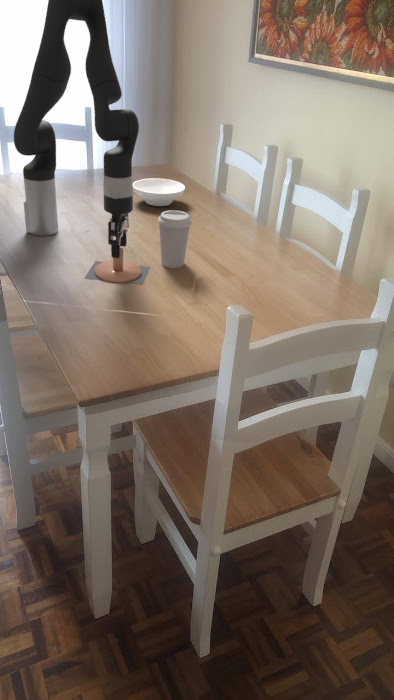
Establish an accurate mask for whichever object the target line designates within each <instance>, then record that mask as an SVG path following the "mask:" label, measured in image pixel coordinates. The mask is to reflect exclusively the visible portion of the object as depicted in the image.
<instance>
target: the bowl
mask: <svg viewBox="0 0 394 700" xmlns="http://www.w3.org/2000/svg"><path fill="white" fill-rule="evenodd" d="M185 189H186V186H185V184H183V183H182V182H179V181H176V180H174V179H168V178H156V177H155V178H154V177H153V178H151V177H150V178H143V179H138V180H136V181H134V182H133V192H135V194H136V195H137V196H139V197H140V198H142V199H143V201H144V202H145V203H146V204H147V205H150V206H154V207H155V206H156V207H166V206H170V205H171V204H172V203H173V201H174V200H176V199H179V198H180V197H182V195H183V194H184V192H185Z"/></svg>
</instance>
